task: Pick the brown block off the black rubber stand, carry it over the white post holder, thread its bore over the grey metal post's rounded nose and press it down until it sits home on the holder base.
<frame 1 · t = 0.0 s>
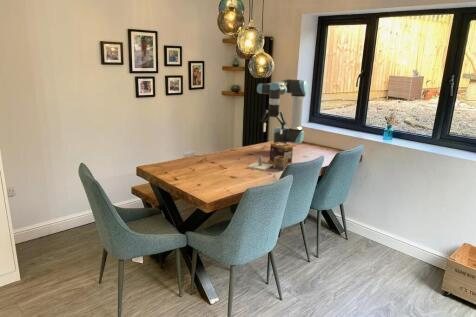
hand: (272, 132, 272), 28 cm above the table, fingers open, 13 cm apart
brown block: (280, 165, 279), point 3 cm above the table, touching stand
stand: (280, 168, 279), on the table
supplement box: (280, 163, 295), on the table
white post holder: (260, 166, 283), on the table
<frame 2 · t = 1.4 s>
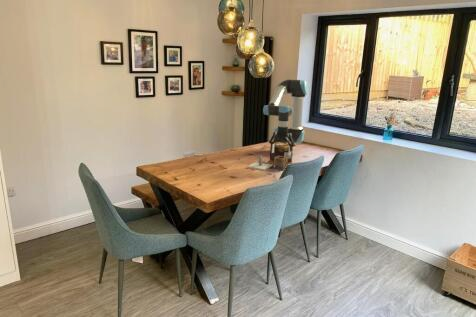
hand: (281, 153, 276), 12 cm above the table, fingers open, 13 cm apart
nothing on the table moved.
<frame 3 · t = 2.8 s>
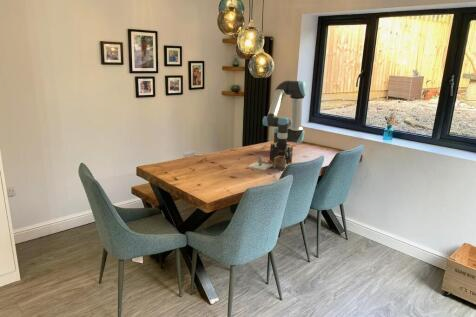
hand: (280, 166, 279), 2 cm above the table, fingers closed on brown block, 8 cm apart
brown block: (280, 165, 279), point 3 cm above the table, touching gripper, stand
everything else where it was.
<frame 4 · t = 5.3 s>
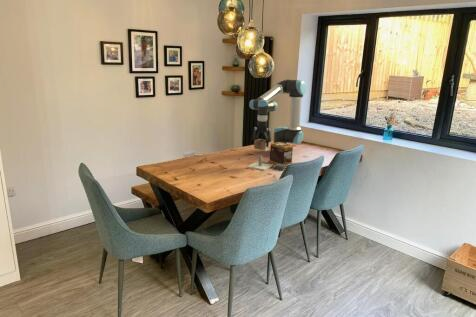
hand: (260, 149, 279), 14 cm above the table, fingers closed on brown block, 8 cm apart
brown block: (260, 148, 278), point 15 cm above the table, touching gripper
everything else where it was.
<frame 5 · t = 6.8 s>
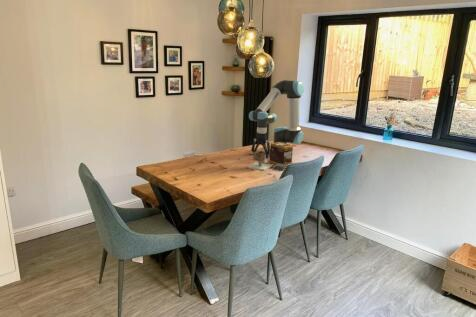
hand: (260, 161, 281), 5 cm above the table, fingers closed on brown block, 8 cm apart
brown block: (260, 159, 281), point 6 cm above the table, touching gripper
everything else where it was.
when the fingers open (2 cm above the table, at t = 7.8 s): brown block drops 2 cm, resting on white post holder.
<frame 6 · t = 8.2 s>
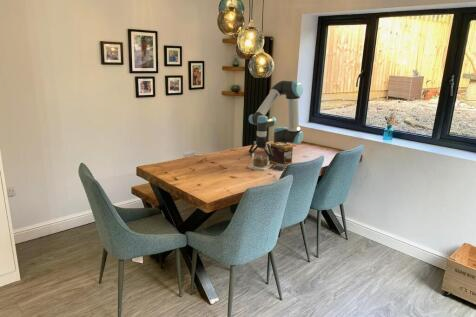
hand: (260, 163, 282), 3 cm above the table, fingers open, 13 cm apart
brown block: (260, 165, 282), point 1 cm above the table, touching white post holder
everything else where it was.
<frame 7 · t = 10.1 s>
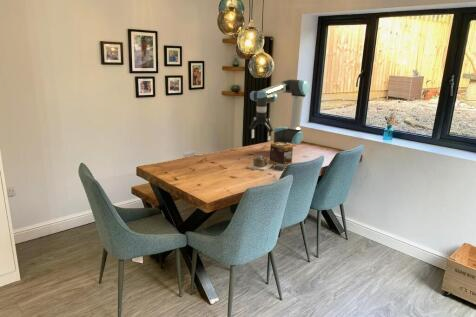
hand: (260, 139, 282), 21 cm above the table, fingers open, 13 cm apart
nothing on the table moved.
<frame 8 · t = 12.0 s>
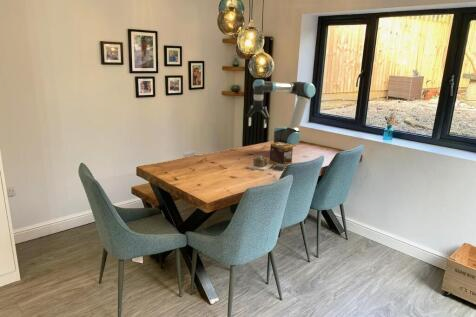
hand: (257, 126, 290), 29 cm above the table, fingers open, 13 cm apart
nothing on the table moved.
at the end: brown block 0.0 cm off-centre on the white post holder, point 1.2 cm above the white post holder's base; brown block tilted 0°; the gripper is holding nothing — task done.
